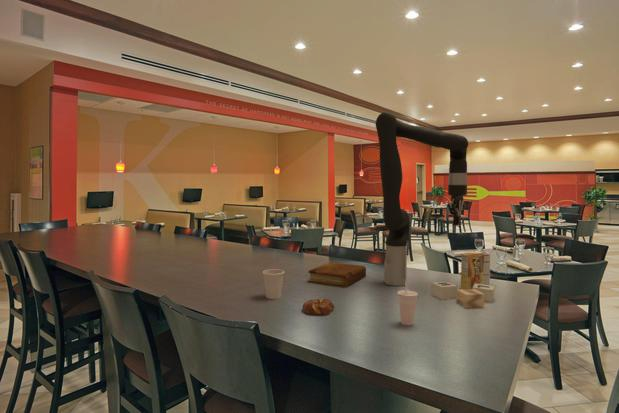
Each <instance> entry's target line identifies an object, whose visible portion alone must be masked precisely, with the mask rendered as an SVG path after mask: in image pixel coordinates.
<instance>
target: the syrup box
mask: <svg viewBox="0 0 619 413" xmlns="http://www.w3.org/2000/svg"><path fill="white" fill-rule="evenodd" d="M476 252H477V253H482V254H484V266H483V284H484V285H490V284H491V253H490V252H488V251H486V250H475V251H474V252H473V253H476Z"/></svg>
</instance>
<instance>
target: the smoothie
mask: <svg viewBox="0 0 619 413" xmlns="http://www.w3.org/2000/svg"><path fill="white" fill-rule="evenodd" d="M397 297H398V306H399V307H398V308H399V315H400V324H401V325H404V324H405V325H404V326H413V325H414V320H415V312H416V306H417V299H418V298H419V293H418V292H417V291H414V290H413V291H412V290H409V289H408V279H407V278H406V279H405V285H404V290H403V289H402V290H398V291H397Z"/></svg>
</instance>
